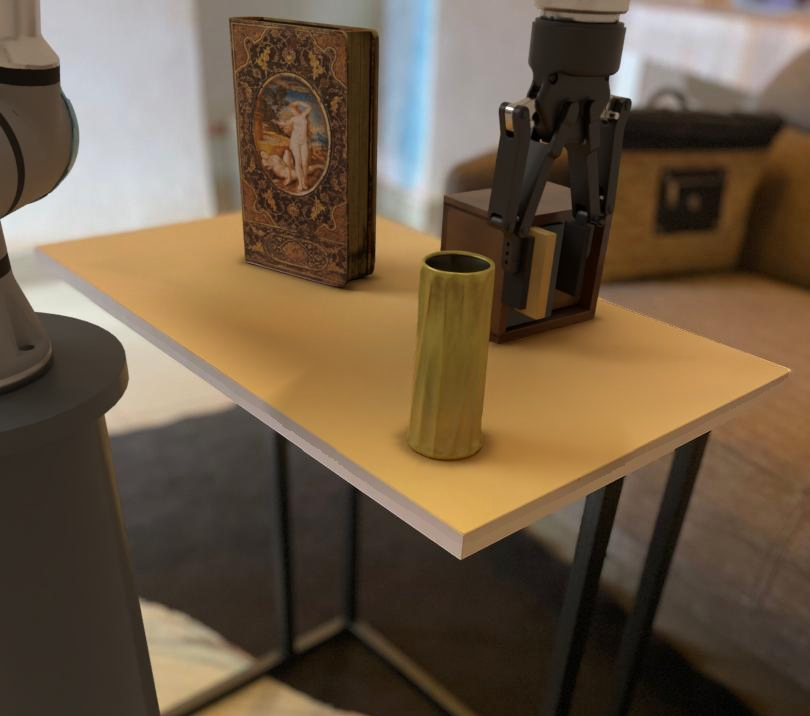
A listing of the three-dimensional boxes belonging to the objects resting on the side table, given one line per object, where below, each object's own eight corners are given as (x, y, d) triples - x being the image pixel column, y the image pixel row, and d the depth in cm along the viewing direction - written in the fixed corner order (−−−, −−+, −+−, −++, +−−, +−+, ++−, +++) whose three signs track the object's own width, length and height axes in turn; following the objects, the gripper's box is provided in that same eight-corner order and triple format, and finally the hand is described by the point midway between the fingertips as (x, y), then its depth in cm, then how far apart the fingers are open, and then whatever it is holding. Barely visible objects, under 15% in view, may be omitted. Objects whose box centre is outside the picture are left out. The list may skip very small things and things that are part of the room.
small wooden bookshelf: (435, 312, 90) (443, 194, 83) (531, 290, 97) (545, 180, 90) (497, 343, 83) (511, 219, 76) (594, 318, 90) (615, 202, 83)
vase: (399, 455, 65) (407, 270, 56) (413, 419, 69) (422, 244, 61) (477, 465, 64) (497, 279, 55) (486, 428, 69) (505, 252, 60)
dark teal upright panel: (499, 325, 84) (510, 226, 78) (545, 314, 87) (559, 217, 81) (526, 338, 81) (539, 236, 76) (572, 326, 85) (588, 227, 79)
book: (237, 260, 101) (220, 17, 87) (268, 250, 105) (256, 15, 90) (346, 290, 94) (347, 32, 80) (374, 278, 98) (380, 29, 83)
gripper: (522, 21, 60) (490, 330, 73) (695, 19, 69) (638, 293, 83) (456, 12, 64) (437, 304, 78) (626, 12, 74) (583, 271, 88)
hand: (541, 298), depth 80 cm, fingers open, 6 cm apart
